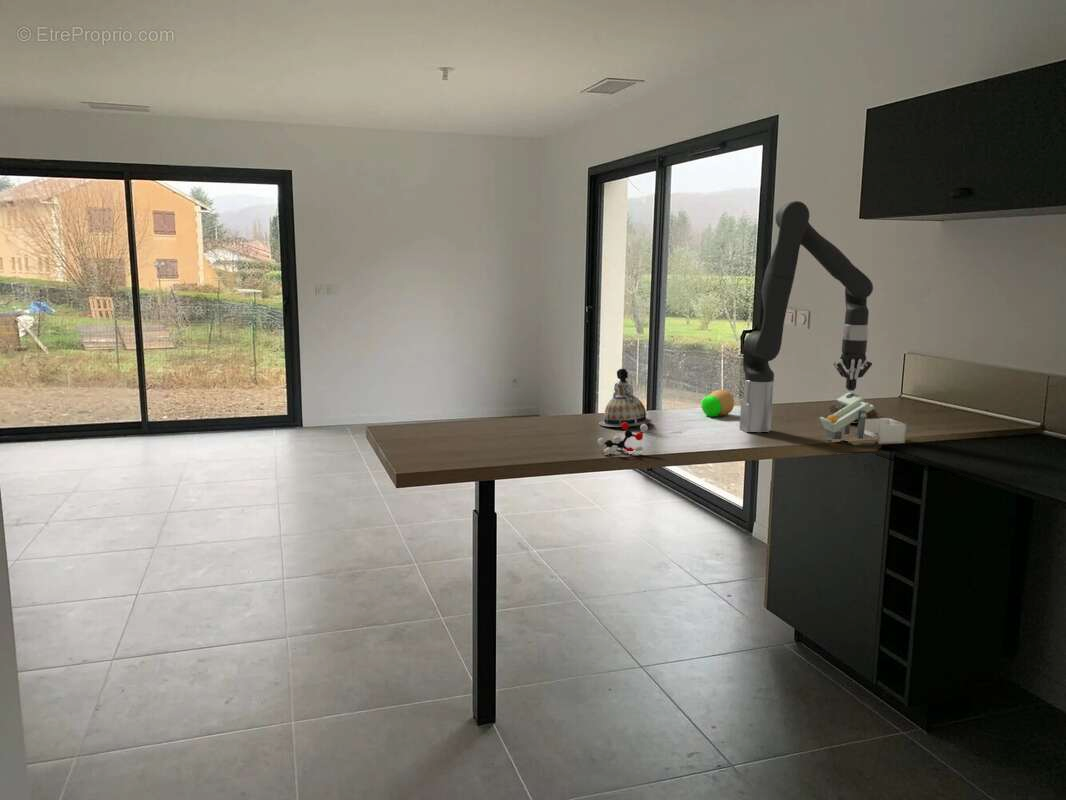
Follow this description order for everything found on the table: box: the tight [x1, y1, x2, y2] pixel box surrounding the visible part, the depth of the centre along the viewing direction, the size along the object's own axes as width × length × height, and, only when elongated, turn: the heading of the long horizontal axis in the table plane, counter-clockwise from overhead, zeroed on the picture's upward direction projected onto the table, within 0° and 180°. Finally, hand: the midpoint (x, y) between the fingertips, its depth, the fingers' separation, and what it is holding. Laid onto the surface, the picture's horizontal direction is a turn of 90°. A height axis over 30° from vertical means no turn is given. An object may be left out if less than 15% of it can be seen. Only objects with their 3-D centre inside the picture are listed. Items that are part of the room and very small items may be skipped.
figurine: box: [598, 367, 653, 428], centre depth 271 cm, size 18×18×20 cm
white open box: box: [864, 417, 908, 445], centre depth 252 cm, size 9×9×6 cm
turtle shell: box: [827, 401, 884, 423], centre depth 281 cm, size 16×9×20 cm
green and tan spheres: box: [700, 389, 735, 418], centre depth 288 cm, size 11×10×12 cm
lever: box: [819, 391, 875, 433], centre depth 255 cm, size 17×17×4 cm
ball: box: [826, 414, 838, 424], centre depth 250 cm, size 3×3×3 cm
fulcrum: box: [825, 405, 876, 447], centre depth 251 cm, size 11×13×10 cm
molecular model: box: [597, 422, 649, 453], centre depth 235 cm, size 16×8×10 cm, turn 97°
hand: (850, 390), depth 261 cm, fingers closed
